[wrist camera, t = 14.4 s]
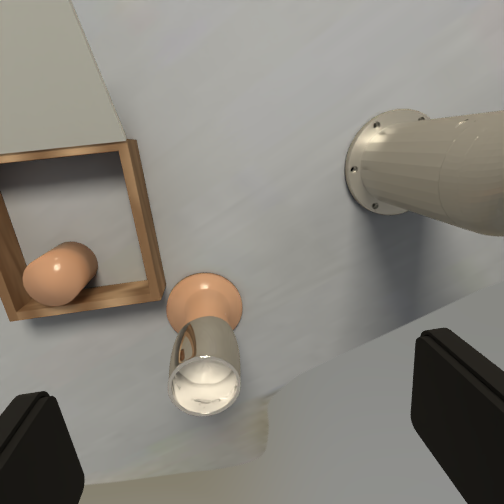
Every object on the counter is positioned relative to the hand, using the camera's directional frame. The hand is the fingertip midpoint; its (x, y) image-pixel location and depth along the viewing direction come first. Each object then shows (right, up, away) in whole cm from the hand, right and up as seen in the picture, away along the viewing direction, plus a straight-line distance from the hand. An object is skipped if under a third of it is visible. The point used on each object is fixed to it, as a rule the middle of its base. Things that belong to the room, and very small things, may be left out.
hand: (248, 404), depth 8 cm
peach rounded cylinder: (-22, +3, +32) cm, 39 cm away
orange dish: (-6, -3, +36) cm, 36 cm away
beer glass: (-6, -4, +35) cm, 36 cm away
